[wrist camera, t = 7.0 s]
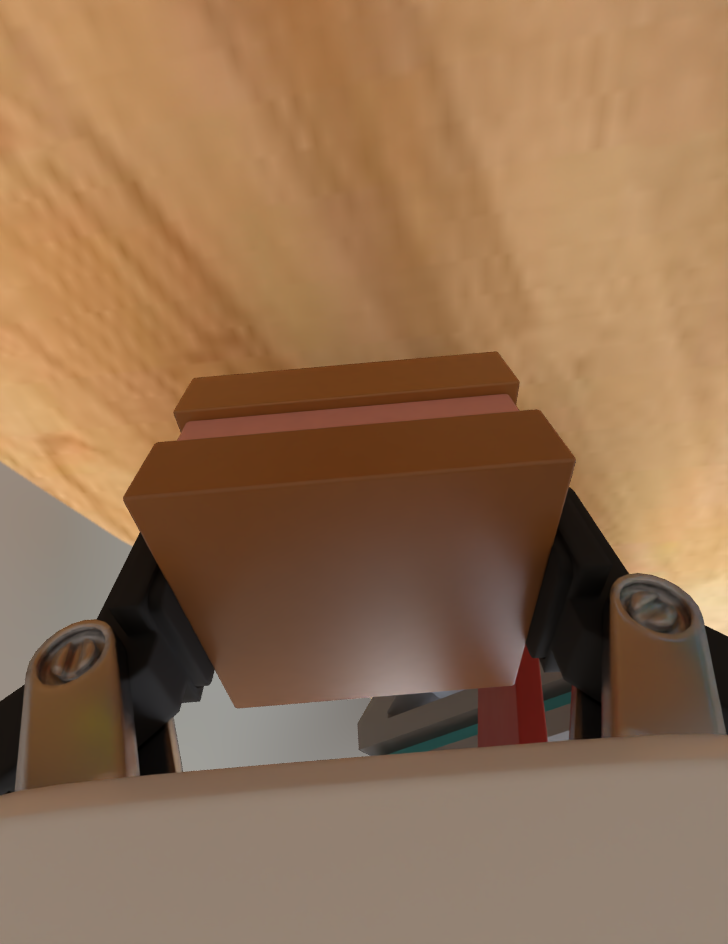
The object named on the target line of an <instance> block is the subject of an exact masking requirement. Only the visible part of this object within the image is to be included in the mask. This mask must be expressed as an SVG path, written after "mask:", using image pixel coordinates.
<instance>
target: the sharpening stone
mask: <svg viewBox="0 0 728 944" xmlns="http://www.w3.org/2000/svg"><path fill="white" fill-rule="evenodd" d="M539 664H540V673H541V682H542V691H543V700H544V709H545V719H546V728H547V737H548V742H555V741H567V740H569V727H570V708H571V688H572V685H571V684H570V683H568V682H567V681H565V680H564V679H563V677H562V674H561V672H560V671H559V672H546V673H544V671H543V668H542V665H541V663H540V660H539ZM358 741H359V750H360V751H362V752H364V753H366V754H368V755H370V756H378V755H390V754H402V753H414V752H426V751H439V750H451V749H464V748H477V747H478V688H476V689H464V690H452V691H440V692H428V693H416V694H404V695H392V696H380V697H373V698H372V699H371V701H370V703H369V704H368V706H367V708H366V710H365V711H364V713H363V715H362V717H361V718H360V720H359V722H358Z"/></svg>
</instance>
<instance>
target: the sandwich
mask: <svg viewBox="0 0 728 944" xmlns="http://www.w3.org/2000/svg"><path fill="white" fill-rule="evenodd" d="M518 389H519V380H518V379H517V378H516V376H515V375H514V374H513V372H512V371H511V369H510V368H509V367H508V365H507V364H506V363H505V361H504V360H503V359H502V357H501V356H500V355H499V353H498V352H484V353H473V354H462V355H450V356H439V357H428V358H416V359H405V360H393V361H382V362H371V363H359V364H348V365H337V366H325V367H314V368H302V369H291V370H280V371H268V372H257V373H245V374H234V375H223V376H211V377H200V378H193V379H192V381H191V383H190V384H189V386H188V388H187V390H186V391H185V393H184V395H183V396H182V398H181V400H180V401H179V403H178V405H177V406H176V408H175V410H174V416H175V418H176V421H177V424H178V426H179V429H180V431H181V434H180V436H179V438H178V440H177V441H168V442H158V443H156V444H154V446H153V448H152V449H151V451H150V453H149V454H148V456H147V458H146V459H145V461H144V463H143V464H142V466H141V468H140V470H139V471H138V473H137V475H136V476H135V478H134V480H133V481H132V483H131V485H130V486H129V488H128V490H127V491H126V493H125V495H124V497H123V501H124V503H125V505H126V507H127V508H128V510H129V512H130V514H131V516H132V518H133V520H134V521H135V523H136V525H137V527H138V529H139V531H140V532H141V534H142V536H143V538H144V540H145V542H146V544H147V545H148V547H149V549H150V551H151V553H152V555H153V557H154V558H155V560H156V562H157V564H158V566H159V568H160V569H161V571H162V573H163V575H164V577H165V579H166V580H167V582H168V584H169V585H170V587H171V589H172V591H173V593H174V595H175V597H176V598H177V600H178V602H179V604H180V606H181V608H182V609H183V611H184V613H185V615H186V617H187V619H188V621H189V622H190V624H191V626H192V628H193V630H194V632H195V634H196V635H197V637H198V639H199V641H200V643H201V645H202V647H203V648H204V650H205V652H206V654H207V656H208V658H209V660H210V661H211V663H212V665H213V667H214V669H215V671H216V673H217V674H218V677H219V679H220V680H221V682H222V684H223V686H224V688H225V690H226V692H227V693H228V695H229V697H230V699H231V701H232V702H233V704H234V706H235V708H248V707H261V706H272V705H285V704H297V703H309V702H320V701H331V700H344V699H356V698H368V697H380V696H392V695H404V694H416V693H428V692H440V691H452V690H464V689H476V688H488V687H500V686H512V685H514V684H515V680H516V677H517V673H518V669H519V666H520V662H521V658H522V655H523V651H524V648H525V643H526V639H527V635H528V632H529V628H530V624H531V621H532V617H533V613H534V610H535V606H536V603H537V599H538V595H539V592H540V588H541V584H542V581H543V577H544V574H545V570H546V566H547V563H548V559H549V555H550V552H551V548H552V546H553V543H554V539H555V535H556V532H557V528H558V524H559V521H560V517H561V514H562V510H563V506H564V503H565V499H566V495H567V492H568V488H569V485H570V481H571V477H572V474H573V470H574V466H575V463H576V459H575V457H574V455H573V454H572V453H571V451H570V450H569V449H568V447H567V446H566V445H565V443H564V442H563V441H562V439H561V438H560V437H559V435H558V434H557V432H556V431H555V430H554V428H553V427H552V426H551V424H550V423H549V422H548V420H547V419H546V418H545V416H544V415H543V413H542V412H541V411H540V410H537V409H535V410H524V411H519V410H518V408H517V407H516V402H517V395H518Z"/></svg>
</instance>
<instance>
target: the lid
mask: <svg viewBox="0 0 728 944" xmlns="http://www.w3.org/2000/svg"><path fill="white" fill-rule="evenodd" d="M542 742H548V737H547V728H546V719H545V709H544V700H543V691H542V682H541V673H540V664H539V658H532V657H531V655H530V654H529V651H528V649H527V646H526V644H525V648H524V651H523V655H522V658H521V662H520V666H519V669H518V673H517V677H516V680H515V684H514V685H512V686H500V687H488V688H478V747H490V746H503V745H516V744H529V743H542Z"/></svg>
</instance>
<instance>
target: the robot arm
mask: <svg viewBox="0 0 728 944" xmlns="http://www.w3.org/2000/svg"><path fill="white" fill-rule="evenodd" d="M525 644H526V646H527V649H528V651H529V654H530V655H531V657H532V658H539V660H540V663H541V665H542V668H543V671H544V673H546V672H559V671H560V672H561V674H562V677H563V679H564V680H565V681H567V682H568V683H570V684H571V685H572V688H571V708H570V727H569V740H567V741H555V742H542V743H529V744H516V745H503V746H490V747H477V748H464V749H451V750H439V751H426V752H414V753H402V754H390V755H378V756H366V757H354V758H341V759H330V760H317V761H305V762H294V763H282V764H270V765H258V766H248V767H236V768H225V769H213V770H201V771H189V772H183V768H182V762H181V757H180V751H179V745H178V740H177V734H176V728H175V723H174V718H173V717H174V716H175V715H176V714H177V713H178V712H179V711H180V707H181V703H186V702H197V701H200V700H201V695H202V691H203V687H204V686H208V685H209V684H210V683H211V681H212V678H213V674H214V670H215V669H214V667H213V665H212V663H211V661H210V660H209V658H208V656H207V654H206V652H205V650H204V648H203V647H202V645H201V643H200V641H199V639H198V637H197V635H196V634H195V632H194V630H193V628H192V626H191V624H190V622H189V621H188V619H187V617H186V615H185V613H184V611H183V609H182V608H181V606H180V604H179V602H178V600H177V598H176V597H175V595H174V593H173V591H172V589H171V587H170V585H169V584H168V582H167V580H166V579H165V577H164V575H163V573H162V571H161V569H160V568H159V566H158V564H157V562H156V560H155V558H154V557H153V555H152V553H151V551H150V549H149V547H148V545H147V544H146V542H145V540H144V538H143V536H142V534H141V532H140V533H139V535H138V537H137V539H136V541H135V543H134V545H133V547H132V550H131V551H130V554H129V556H128V558H127V560H126V562H125V564H124V566H123V568H122V570H121V572H120V574H119V576H118V578H117V580H116V582H115V584H114V586H113V588H112V590H111V592H110V594H109V596H108V598H107V600H106V602H105V604H104V606H103V608H102V610H101V612H100V614H99V616H98V618H97V620H96V619H95V620H83V621H80V622H77V623H74V624H71V625H69V626H67V627H65V628H63V629H61V630H59V631H58V632H56V633H55V634H54V635H53V636H51V637H50V638H49V639H47V640H46V641H45V642H44V643H43V644H42V645H41V647H40V648H39V649H38V650H37V651H36V652H35V654H34V656H33V657H32V659H31V661H30V662H29V665H28V669H27V672H26V678H25V685H23V686H22V687H21V688H19V689H17V690H16V691H15V692H13V693H12V694H10V695H9V696H7V697H6V698H5V699H3V700H2V701H0V944H728V636H726V635H724V634H722V633H720V632H717V631H715V630H713V629H711V628H709V627H707V626H705V625H704V620H703V616H702V614H701V611H700V609H699V606H698V605H697V604H696V603H695V601H694V600H693V599H692V598H691V596H690V595H688V594H687V593H686V592H685V591H683V590H682V589H681V588H680V587H678V586H676V585H675V584H673V583H671V582H669V581H667V580H665V579H662V578H659V577H656V576H653V575H648V574H640V573H636V574H629V573H628V572H627V570H626V569H625V567H624V566H623V564H622V563H621V561H620V560H619V558H618V557H617V555H616V554H615V552H614V551H613V549H612V548H611V546H610V545H609V543H608V542H607V540H606V539H605V537H604V536H603V534H602V533H601V531H600V530H599V528H598V527H597V525H596V523H595V522H594V520H593V519H592V517H591V516H590V514H589V513H588V511H587V510H586V508H585V507H584V505H583V504H582V502H581V501H580V499H579V498H578V496H577V495H576V493H575V492H574V491H573V490H572V489H571V488H568V492H567V495H566V499H565V503H564V506H563V510H562V514H561V517H560V521H559V524H558V528H557V532H556V535H555V539H554V543H553V546H552V548H551V552H550V555H549V559H548V563H547V566H546V570H545V574H544V577H543V581H542V584H541V588H540V592H539V595H538V599H537V603H536V606H535V610H534V613H533V617H532V621H531V624H530V628H529V632H528V635H527V639H526V643H525Z"/></svg>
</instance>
